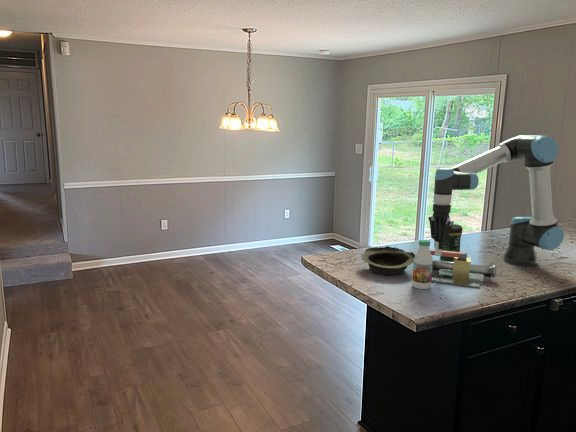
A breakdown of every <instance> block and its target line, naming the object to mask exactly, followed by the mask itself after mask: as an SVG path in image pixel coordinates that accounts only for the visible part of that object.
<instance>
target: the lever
mask: <svg viewBox="0 0 576 432" xmlns="http://www.w3.org/2000/svg"><path fill="white" fill-rule="evenodd" d="M429 249H430V248H429ZM430 253H431V256H435V249H432V248H431V249H430ZM441 256H446V257H456V258H458V259H462V260H466V259H467V258H468V257H467V256H468V253H467V252H463V251H462V252H461V251H460V252H452V251H442V254H441Z"/></svg>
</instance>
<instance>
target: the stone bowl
mask: <svg viewBox="0 0 576 432" xmlns="http://www.w3.org/2000/svg"><path fill="white" fill-rule="evenodd" d="M415 255H416V254H415V253H414V252H412V251H406V250H404V249H402V248H399V247H395V246H394V247H392V246H389V245H386V246H378V247H377V246H375V247H368V248H366V249H365V250H364V252H363V253H361V260H362V261H364V262H365V264H367V265H368V267H369V270H371V272H373V273H374V274H378V275H384V276H389V275H395V274H398V273H401V272H403V271H406V269H407V268H408V267H409V266H410V265H412V264H414V258H415Z"/></svg>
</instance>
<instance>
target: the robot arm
mask: <svg viewBox="0 0 576 432" xmlns="http://www.w3.org/2000/svg"><path fill="white" fill-rule="evenodd" d="M558 154H559V145H558V142H557V140H555V139H554V138H553V137H551V136H549V135H542V134H538V135H537V134H536V135H535V134H520V135H517V136H515V137H512V138H508V139H506V140H505V141H502V142H501V143H499V144H497V145H496V147H495V148H492V149H489V150H488V151H486V152H482V153H481V154H479V155H477V156H475V157H472V158H470V159H468V160H465V161H464V162H461V163H459V164H457V165H455V166H452V167H449V168H448V167H439V168H437V169H435V174H434V187H433V204H432V212H433V213H432V216H428V218H427V219H428V221H429V229H430V238H431V239H433V240H434V245H433V246H434V250H435V255H434V256H435V257H440V256H441V254H442V249H443V242H444V241H447V240H448V237H449V233H450V230H451V226H452V225H453V224H455V223H454V221H452V220H451V219H450V213H451V210H452V205H451V204H452V199H453V198H452V197H453V191H470V190H472V191H473V190H475V189H476V188H477V187H478V186H479V181H480V180H479V176H478V175H477V174H479V173H481V172H484V171H486V170H488V169H490V168H493V167H495V166H497V165H499V164H502V163H508V162H511V161H517V160H518V161H519V160H520V161H521V160H522V161H523V162H524V163H523V164H524V165H523V166H524V168H526V169H527V170H528V179H529V180H528V181H529V191H530V202H531V203H530V205H531V214H532V216H515V217H513V218H511V221H510V228H509V238H508V246H507V247H506V250H505V251H504V254H503V257H502V258H503V259H502V260H503V261H504V262H506V263H508V264H511V265H512V264H513V265H519V266H535V265H536V264H537V256H536V251H535V247H537V248H540V249H541V250H546V251H553V250H556V249H557V248H559V247H560V246H561V244H562V243H563V241H564V239H565V232H564V230H563V228H561V227H559V225H558V219H557V218H555V217H554V209H553V207H554V206H553V198H552V195H553V194H552V182H551V181H552V180H551V169H550V168H551V167H552V166H553V164H554V160H555V159H557V156H558Z"/></svg>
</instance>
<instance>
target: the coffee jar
mask: <svg viewBox="0 0 576 432" xmlns="http://www.w3.org/2000/svg"><path fill="white" fill-rule="evenodd" d="M462 234H463V226H462V225H461V224H460V225H459V224H456V223H453V225H452V226H451V230H450V233H449V237H448V240H447V241H444V242H443V249H442V251H452V252H461V239H462ZM439 259H440V261H448V262H454V257H446V256H439Z"/></svg>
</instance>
